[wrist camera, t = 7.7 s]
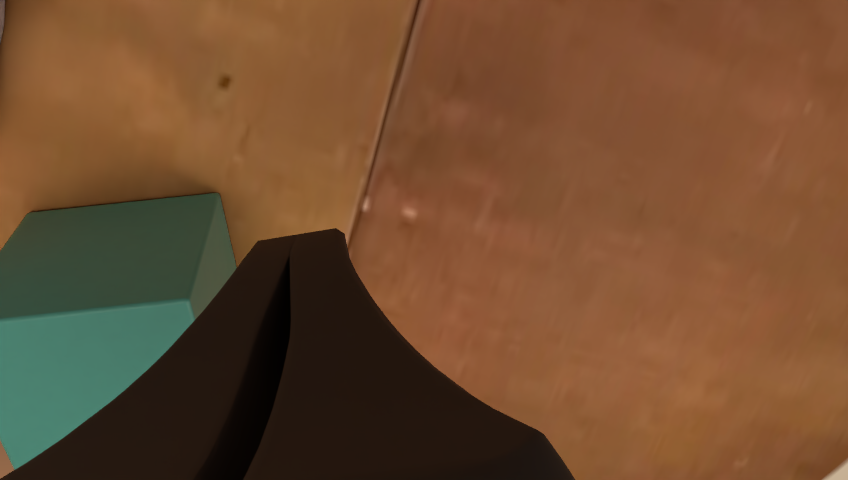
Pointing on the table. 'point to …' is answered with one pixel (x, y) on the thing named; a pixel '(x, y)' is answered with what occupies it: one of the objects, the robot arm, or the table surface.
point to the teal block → (98, 306)
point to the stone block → (2, 17)
